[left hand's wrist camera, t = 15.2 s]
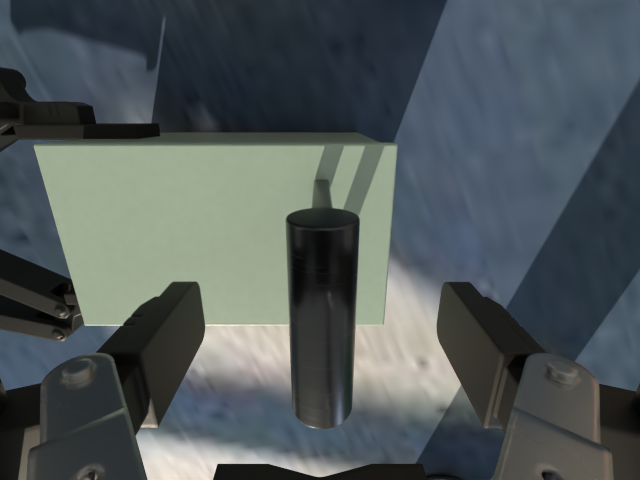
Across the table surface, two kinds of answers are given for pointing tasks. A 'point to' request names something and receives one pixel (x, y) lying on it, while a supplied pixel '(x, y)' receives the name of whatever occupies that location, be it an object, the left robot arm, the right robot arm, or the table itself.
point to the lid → (235, 241)
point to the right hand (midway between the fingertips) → (163, 216)
